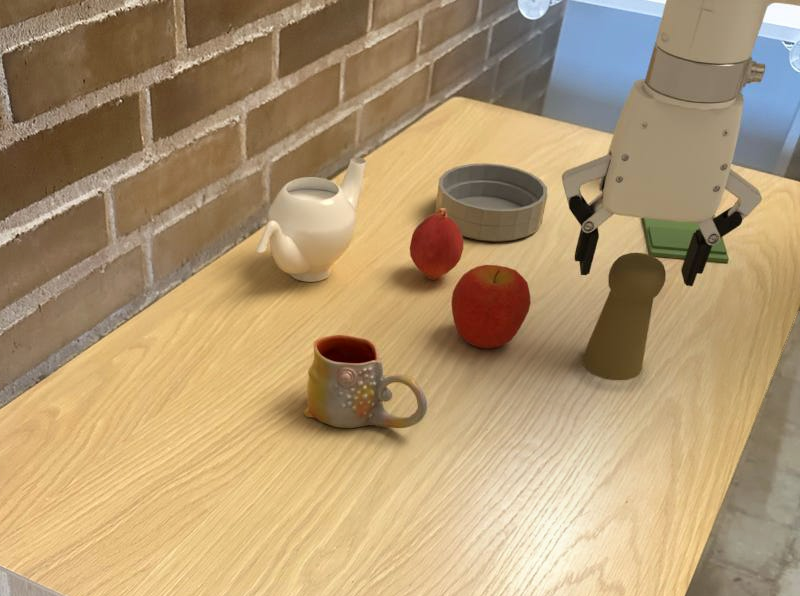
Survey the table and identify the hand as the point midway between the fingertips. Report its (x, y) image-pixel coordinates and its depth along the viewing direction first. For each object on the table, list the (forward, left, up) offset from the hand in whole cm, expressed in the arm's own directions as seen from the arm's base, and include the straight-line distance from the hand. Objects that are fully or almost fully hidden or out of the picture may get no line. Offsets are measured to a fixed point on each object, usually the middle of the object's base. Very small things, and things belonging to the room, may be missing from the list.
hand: (634, 273), depth 91 cm
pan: (+13, -30, -10) cm, 34 cm away
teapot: (+32, -13, -10) cm, 36 cm away
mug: (+24, +14, -10) cm, 29 cm away
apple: (+13, -2, -10) cm, 16 cm away
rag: (-11, -30, -10) cm, 33 cm away
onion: (+19, -14, -10) cm, 25 cm away
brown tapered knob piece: (0, 0, -10) cm, 10 cm away
